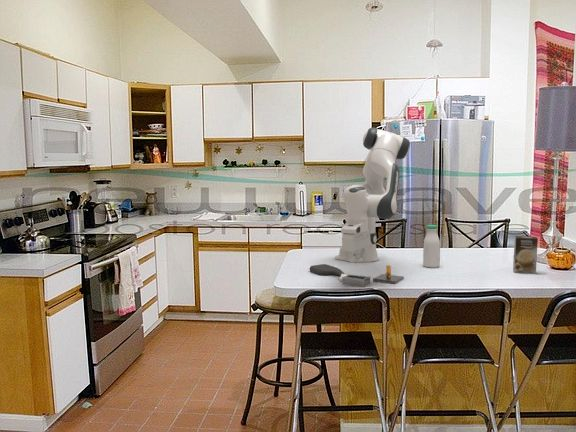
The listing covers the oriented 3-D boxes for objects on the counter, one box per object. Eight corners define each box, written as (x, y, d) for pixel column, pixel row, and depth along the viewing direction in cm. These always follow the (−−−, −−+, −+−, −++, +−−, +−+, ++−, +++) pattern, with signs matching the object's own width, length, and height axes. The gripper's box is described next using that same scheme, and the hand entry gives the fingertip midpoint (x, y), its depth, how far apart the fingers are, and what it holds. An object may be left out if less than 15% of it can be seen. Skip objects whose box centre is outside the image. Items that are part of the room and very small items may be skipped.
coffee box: (514, 273, 232) (515, 237, 230) (512, 270, 238) (514, 235, 236) (536, 274, 229) (537, 238, 227) (534, 271, 235) (536, 236, 233)
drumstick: (326, 269, 246) (358, 280, 225) (307, 272, 241) (337, 283, 220) (326, 263, 246) (358, 273, 225) (307, 265, 241) (337, 276, 219)
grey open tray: (342, 284, 215) (342, 277, 215) (348, 281, 220) (348, 274, 220) (364, 287, 210) (364, 279, 210) (370, 284, 215) (370, 276, 215)
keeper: (372, 281, 220) (373, 265, 219) (382, 276, 228) (382, 261, 227) (395, 284, 214) (395, 268, 214) (403, 279, 223) (404, 263, 222)
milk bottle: (440, 268, 244) (441, 226, 242) (423, 267, 245) (424, 226, 243) (439, 265, 251) (439, 224, 249) (422, 264, 253) (423, 224, 251)
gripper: (360, 223, 223) (360, 255, 224) (339, 229, 206) (339, 263, 207) (374, 224, 219) (374, 256, 221) (353, 230, 202) (353, 264, 204)
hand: (357, 259), depth 214 cm, fingers open, 8 cm apart
